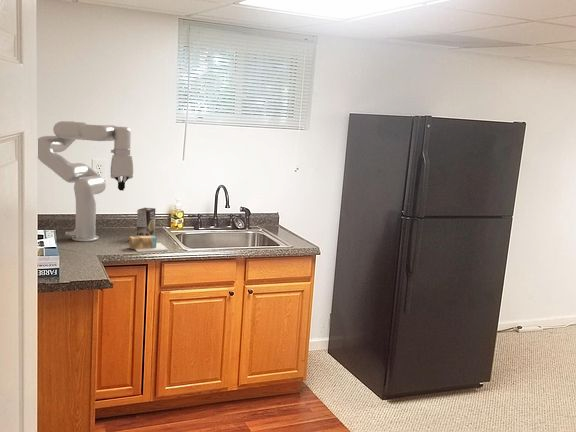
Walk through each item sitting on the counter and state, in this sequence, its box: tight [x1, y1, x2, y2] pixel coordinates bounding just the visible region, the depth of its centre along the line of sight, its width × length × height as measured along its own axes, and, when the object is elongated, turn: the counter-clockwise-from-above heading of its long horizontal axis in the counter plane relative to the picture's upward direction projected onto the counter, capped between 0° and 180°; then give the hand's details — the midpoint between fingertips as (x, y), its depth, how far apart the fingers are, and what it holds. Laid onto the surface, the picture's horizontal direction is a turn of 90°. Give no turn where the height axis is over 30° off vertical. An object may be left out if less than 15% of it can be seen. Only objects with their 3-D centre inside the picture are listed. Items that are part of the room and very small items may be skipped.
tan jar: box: [128, 235, 158, 250], centre depth 286 cm, size 5×5×12 cm
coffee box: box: [136, 207, 156, 237], centre depth 305 cm, size 9×6×16 cm
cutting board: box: [133, 242, 169, 253], centre depth 288 cm, size 15×14×1 cm
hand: (121, 190), depth 287 cm, fingers closed
